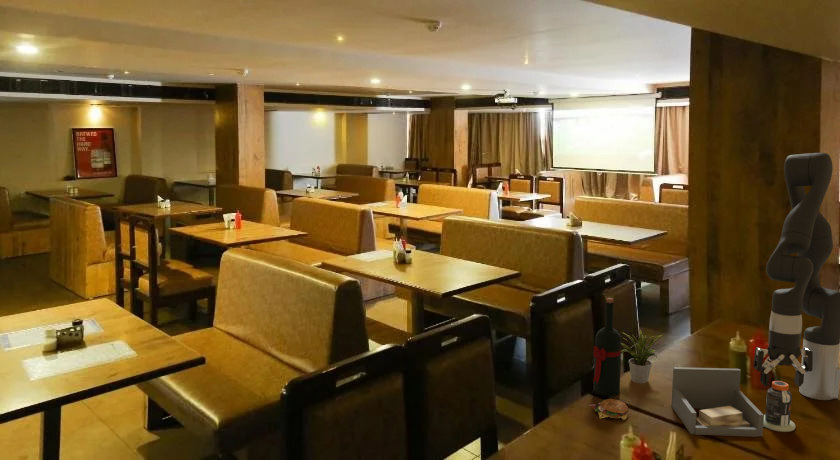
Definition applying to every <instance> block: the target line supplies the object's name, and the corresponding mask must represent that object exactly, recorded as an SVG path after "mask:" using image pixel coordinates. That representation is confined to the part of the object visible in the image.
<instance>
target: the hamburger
mask: <svg viewBox="0 0 840 460" xmlns="http://www.w3.org/2000/svg"><path fill="white" fill-rule="evenodd" d="M597 404H598V406H596V404H589V407H591V408H592V409H593V410H594V412H597V414H598V416H599V417H598V418H599V419H604V418H608V417H609V419H612V418H614V419H613V420H620V418H621V419H622V420H624V421H625V420H626V419H627V418H628V412H629V406H628V405H627V404H626V403H625V402H623V401H622V400H618V399H614V398H608V399H604V400H602V401H600V402H598V403H597Z"/></svg>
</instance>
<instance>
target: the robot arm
mask: <svg viewBox="0 0 840 460" xmlns="http://www.w3.org/2000/svg"><path fill="white" fill-rule="evenodd" d="M783 164H784V165H783V173H784V178H785V179H784V180H785V184H786V189H787V192H788V198H789V202H790V206H791V207H790V209H791V210H790V212H789V213H788V214H787V215H786V218H785V219H784V222H783V225H782V230H781V234H780V235H781V236H780V238H779V241H778V244H777V245H776V248H775V249H774V250H773V252H772V254H771V255H770V257H769V258H768V261H767V263H766V267H765V273H766V274H767V276H768V278H769V279H771V280H772V281H777V282H785V283H786V282H787V283H794V287H791V288H790V287H789V288H780V289H776V290H774V291H773V293H772V298H771V311H770V316H769V325H768V327H769V328H768V340H767V341H768V346H767V348H761V347H758V346H757V347H755V350H754V357H753V365H752V366H753V368H754V369H755V370H756V371H757V372H760V378H759V381H760V383H761V384H762V385H763V386H764V387H769V380H770V374H769V372H771V371H772V369H774V368H776V366H791V365H792V366H793V368H794V369H795V373H794V385H796V386H797V387H798V388H799V389H798V391H799V393H800V394H801V395H803V396H805V397H806V398H810V399H813V400H820V401H831V400H834V399H838V398H839V389H840V367H839V355H840V290H836V289H830V288H827V287H822V285H821V281H820V273H821V270H822V267H823V266H824V264H826V262H827V261H828V259H829V257H830V255H831V254H832V252H833V249H834V242H833V233H832V227H831V224H830V223H829V221H828V220H827V219H826V217H824V215H823V214H822V213H821V212H820V209H821V206H822V203H823V201H824V199H825V197H826V193H827V191H828V188H829V185H830V183H831V180H832V175H833V172H834V171H833V169H834V167H833V166H834V165H833V160H832V157H831V156H830V155H829V154H828V153H825V152H812V153H811V152H810V153H809V152H808V153H799V154H790V155H788V156H787V157H786V158H785V161H784V163H783ZM804 187H810V189H809V191H808V192H807V193H806V191H805V188H804ZM792 254H797V255H792ZM803 313H804V314H806V315H807V316H811V317H815V318H818V319H822V321H821V324H820V326H810V327H807V328H805V330H804V332H803V341H802V330H803V315H802V314H803ZM801 342H802V343H801ZM801 345H802V348H801ZM766 355H767V357H766ZM800 356H801V363H800V361H799V360H798V359H799V357H800ZM765 357H766V359H765V360H764V358H765Z"/></svg>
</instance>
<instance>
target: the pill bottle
mask: <svg viewBox="0 0 840 460" xmlns="http://www.w3.org/2000/svg"><path fill="white" fill-rule="evenodd" d="M789 387H790V386H789V384H788V383H787V382H785V381H782V380H774V381H773V380H772V382H771V387H769V388H768V389H767V392H766V400H765V401H766V402H765V404H766V405H765V414H764V415H765V420H766V421H767V422H768V423H770V424H773V425H776V426H787V425H789V424H790V420H791V411H792V401H793V399H792V398H793V394H792V393H791V391H790V388H789Z"/></svg>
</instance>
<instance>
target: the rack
mask: <svg viewBox="0 0 840 460" xmlns="http://www.w3.org/2000/svg"><path fill="white" fill-rule="evenodd" d="M741 372H742V370H741V369H740V368H728V367H727V368H722V367H721V368H717V367H685V366H684V367H679V366H677V367H676V366H674V367H673V369H672V386H671V388H672V389H671V407H672V409H673V410H674V412H675V414H676V415H677V416H678V418H679V419H680V421H681V423H682V424H683V425H684V426H685V428H686V430H687V431H688V432H689V434H691V435H699V436H700V435H701V436H723V437H725V436H726V437H727V436H728V437H751V438H752V437H754V438H755V437H763V433H764V427H763V422H764V415H765V414H763V412H761V410H760V409H759V408H758V407H757V406H756V405H755V404H754V403H753V402H752V401H751V400H750V399H749V398H748V397H747V396H746V395H745V394H744V393H743V392H742V391H741V389H740V388H741V374H742V373H741ZM725 406H732V407H733V408H735V409H737V410H739V411H740V412H742V418H743V419H744V420H745V421H747V422H748V423H749V424H750V427H725V426H696V417H697V412H696V410H695V409H701V410H704V409H711V408H718V407H725Z"/></svg>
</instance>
